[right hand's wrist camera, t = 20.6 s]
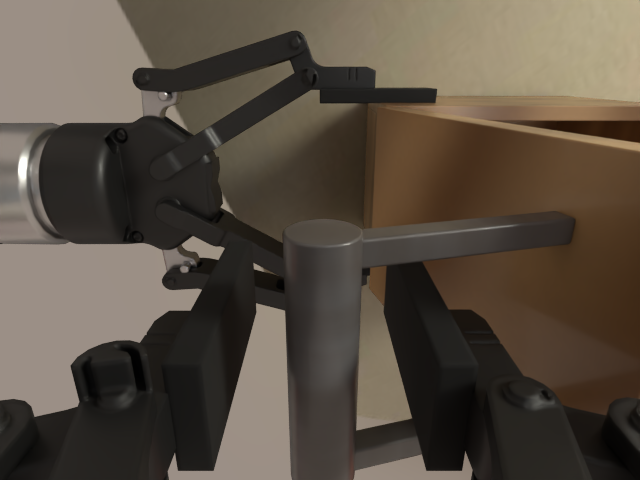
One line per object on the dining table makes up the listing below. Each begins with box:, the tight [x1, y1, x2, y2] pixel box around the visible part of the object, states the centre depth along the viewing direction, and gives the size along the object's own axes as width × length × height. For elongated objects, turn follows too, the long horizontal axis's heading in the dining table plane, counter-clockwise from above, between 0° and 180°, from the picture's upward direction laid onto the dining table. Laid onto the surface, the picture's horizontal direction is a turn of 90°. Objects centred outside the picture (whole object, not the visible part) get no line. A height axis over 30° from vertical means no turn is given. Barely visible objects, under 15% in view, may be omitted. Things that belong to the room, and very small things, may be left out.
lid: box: [283, 106, 640, 480], centre depth 15 cm, size 15×10×8 cm
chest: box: [363, 96, 640, 229], centre depth 28 cm, size 15×10×11 cm
